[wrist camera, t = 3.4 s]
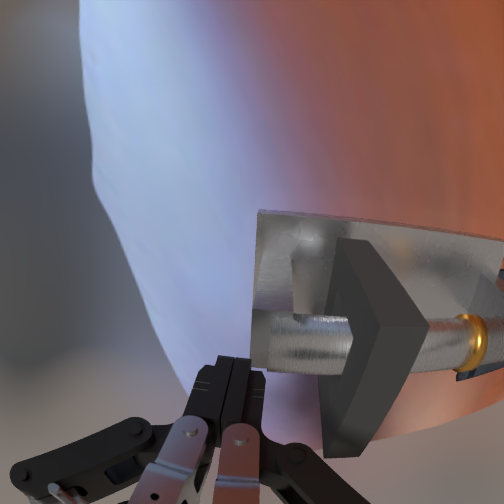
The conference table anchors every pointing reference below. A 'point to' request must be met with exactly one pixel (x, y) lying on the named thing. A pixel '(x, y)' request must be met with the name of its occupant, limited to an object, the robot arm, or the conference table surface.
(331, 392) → the dark grey wedge plate
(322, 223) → the pipe stand
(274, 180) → the conference table surface
